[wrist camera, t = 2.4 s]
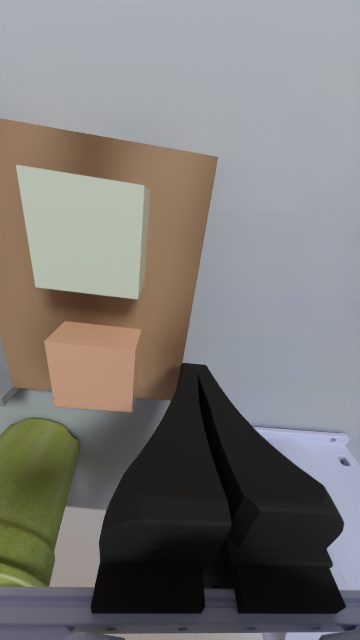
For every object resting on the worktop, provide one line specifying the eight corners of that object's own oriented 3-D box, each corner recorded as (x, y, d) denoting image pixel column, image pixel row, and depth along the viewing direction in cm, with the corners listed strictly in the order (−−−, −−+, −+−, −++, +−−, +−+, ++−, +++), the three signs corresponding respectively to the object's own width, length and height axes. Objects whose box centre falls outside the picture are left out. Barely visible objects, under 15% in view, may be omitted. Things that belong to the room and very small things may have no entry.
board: (210, 167, 10) (218, 156, 8) (175, 379, 16) (175, 400, 14) (-16, 128, 9) (-60, 108, 8) (32, 366, 15) (13, 387, 13)
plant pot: (-20, 388, 16) (-206, 557, 8) (109, 415, 17) (56, 579, 10) (-13, 462, 20) (-136, 625, 12) (91, 479, 21) (43, 633, 13)
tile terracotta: (141, 329, 12) (135, 350, 10) (137, 385, 13) (131, 412, 12) (64, 321, 11) (44, 341, 10) (71, 379, 13) (54, 406, 11)
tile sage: (150, 191, 9) (144, 185, 7) (144, 285, 11) (138, 299, 9) (49, 174, 9) (15, 164, 7) (59, 274, 10) (35, 287, 8)
